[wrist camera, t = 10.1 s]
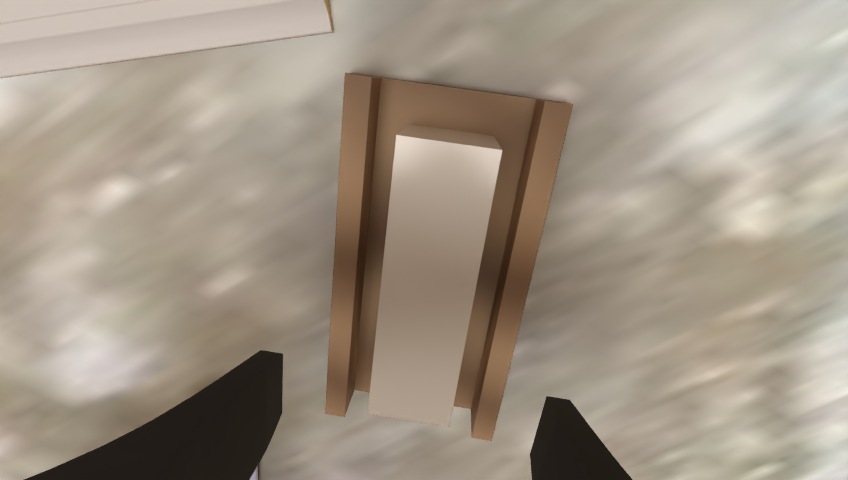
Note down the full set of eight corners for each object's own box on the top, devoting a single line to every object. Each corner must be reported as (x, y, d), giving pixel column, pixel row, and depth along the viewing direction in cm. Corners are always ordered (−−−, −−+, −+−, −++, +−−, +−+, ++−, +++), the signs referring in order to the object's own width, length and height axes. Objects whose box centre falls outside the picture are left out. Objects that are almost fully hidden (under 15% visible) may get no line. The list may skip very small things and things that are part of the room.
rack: (497, 400, 24) (501, 442, 21) (332, 373, 24) (315, 411, 22) (567, 102, 18) (586, 106, 16) (351, 73, 19) (331, 71, 16)
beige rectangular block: (451, 369, 22) (449, 427, 19) (383, 358, 22) (367, 413, 19) (494, 135, 18) (502, 150, 14) (409, 123, 18) (396, 135, 14)
